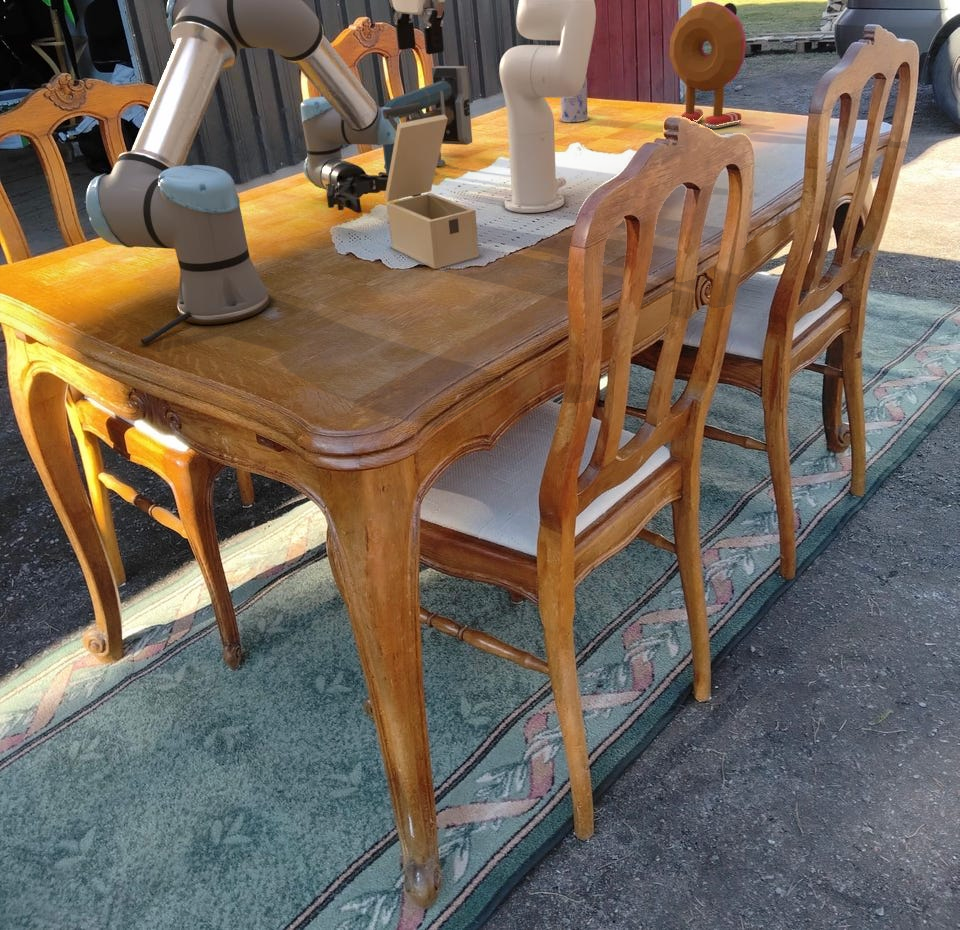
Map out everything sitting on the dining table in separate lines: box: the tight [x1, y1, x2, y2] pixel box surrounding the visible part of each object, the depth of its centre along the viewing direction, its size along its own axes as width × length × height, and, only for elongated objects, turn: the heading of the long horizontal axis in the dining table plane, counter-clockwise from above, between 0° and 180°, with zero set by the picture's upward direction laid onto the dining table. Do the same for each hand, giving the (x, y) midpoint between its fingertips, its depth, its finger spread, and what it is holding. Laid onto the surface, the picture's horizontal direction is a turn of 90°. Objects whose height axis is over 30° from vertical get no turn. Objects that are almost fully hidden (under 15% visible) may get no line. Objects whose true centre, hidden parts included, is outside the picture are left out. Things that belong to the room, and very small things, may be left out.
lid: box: [383, 103, 447, 202], centre depth 180 cm, size 17×10×8 cm
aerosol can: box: [560, 72, 589, 123], centre depth 273 cm, size 8×8×20 cm
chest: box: [386, 192, 480, 270], centre depth 182 cm, size 17×10×9 cm, turn 32°
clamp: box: [373, 65, 473, 189], centre depth 234 cm, size 35×9×21 cm, turn 151°
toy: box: [669, 1, 747, 129], centre depth 252 cm, size 21×10×30 cm, turn 47°
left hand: (389, 198), depth 194 cm, fingers open, 13 cm apart
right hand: (420, 50), depth 164 cm, fingers open, 9 cm apart
